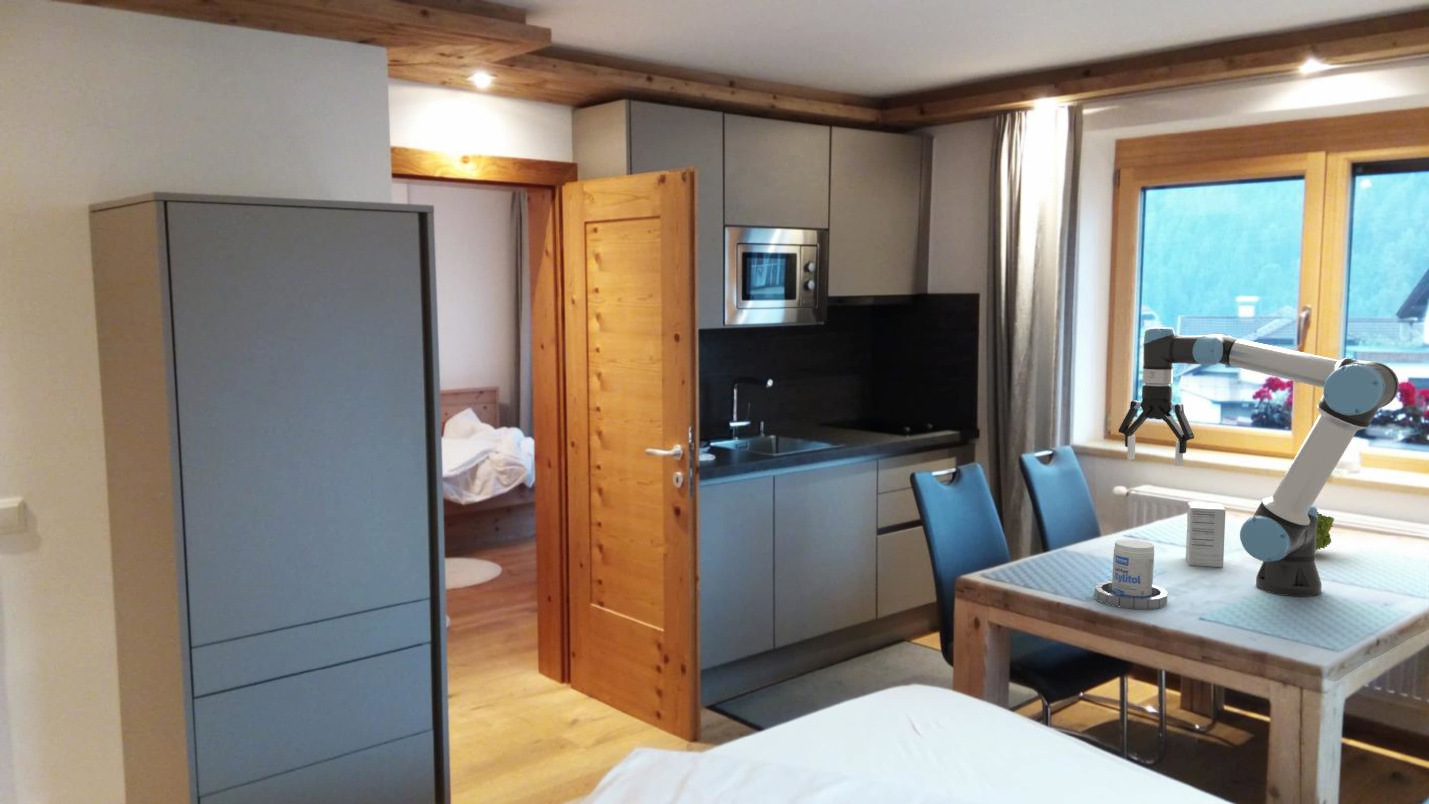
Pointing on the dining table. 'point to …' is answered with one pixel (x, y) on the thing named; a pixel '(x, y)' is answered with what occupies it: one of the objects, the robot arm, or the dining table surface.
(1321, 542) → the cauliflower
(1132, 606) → the collar
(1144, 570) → the supplement tub
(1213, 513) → the supplement box
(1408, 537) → the dining table surface
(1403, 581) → the dining table surface
